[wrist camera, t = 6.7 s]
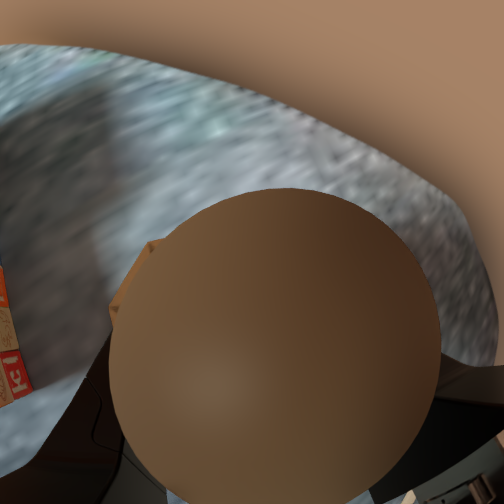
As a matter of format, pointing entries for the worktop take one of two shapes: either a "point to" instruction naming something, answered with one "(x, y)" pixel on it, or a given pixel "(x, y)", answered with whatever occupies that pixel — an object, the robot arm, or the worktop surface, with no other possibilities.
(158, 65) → the worktop surface
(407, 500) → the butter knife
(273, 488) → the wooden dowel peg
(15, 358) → the stack of blocks
